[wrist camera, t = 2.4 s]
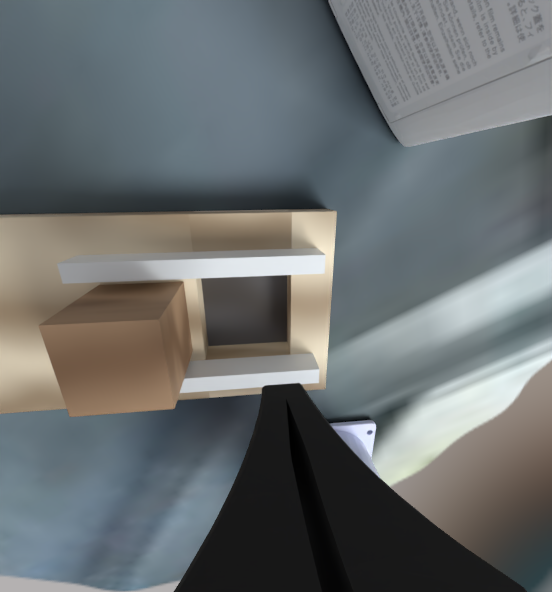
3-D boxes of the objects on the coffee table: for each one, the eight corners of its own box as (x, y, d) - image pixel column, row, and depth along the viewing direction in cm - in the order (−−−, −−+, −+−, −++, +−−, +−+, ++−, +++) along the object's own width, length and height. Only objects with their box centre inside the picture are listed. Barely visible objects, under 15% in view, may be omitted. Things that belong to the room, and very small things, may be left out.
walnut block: (192, 351, 18) (174, 408, 13) (116, 355, 18) (69, 417, 13) (183, 281, 16) (158, 319, 12) (98, 285, 16) (38, 325, 11)
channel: (312, 365, 19) (318, 382, 18) (110, 379, 18) (96, 399, 16) (317, 247, 16) (325, 255, 15) (77, 255, 15) (57, 263, 14)
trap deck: (318, 371, 22) (325, 388, 20) (9, 393, 20) (-15, 414, 18) (327, 208, 18) (336, 211, 16) (-67, 215, 16) (-109, 219, 14)
